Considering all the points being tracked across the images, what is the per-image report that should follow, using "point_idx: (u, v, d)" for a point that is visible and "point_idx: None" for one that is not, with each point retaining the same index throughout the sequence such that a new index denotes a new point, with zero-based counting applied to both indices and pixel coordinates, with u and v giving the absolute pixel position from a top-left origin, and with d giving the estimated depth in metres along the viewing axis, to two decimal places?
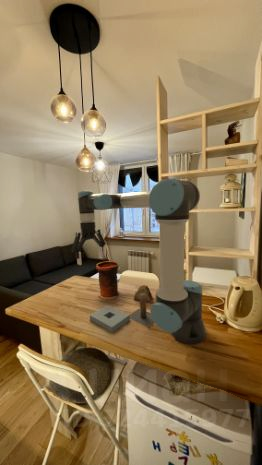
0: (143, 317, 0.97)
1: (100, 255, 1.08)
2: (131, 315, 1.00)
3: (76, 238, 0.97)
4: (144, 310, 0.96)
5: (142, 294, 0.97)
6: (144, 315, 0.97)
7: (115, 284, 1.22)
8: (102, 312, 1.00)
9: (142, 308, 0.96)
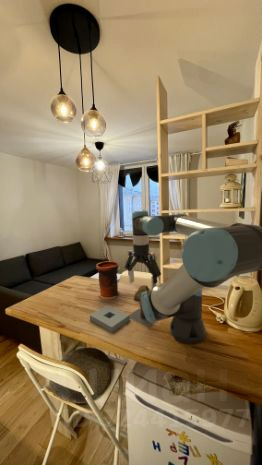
0: (143, 317, 0.97)
1: None
2: (131, 315, 1.00)
3: None
4: None
5: None
6: (144, 315, 0.97)
7: (115, 284, 1.22)
8: (102, 312, 1.00)
9: None
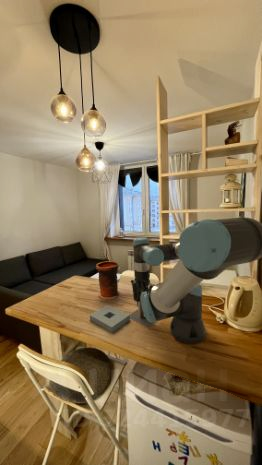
0: (143, 317, 0.97)
1: None
2: (131, 315, 1.00)
3: None
4: None
5: None
6: None
7: (115, 284, 1.22)
8: (102, 312, 1.00)
9: None
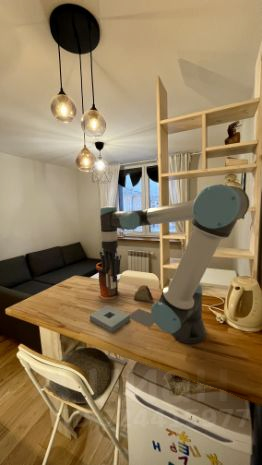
0: (111, 293, 0.95)
1: None
2: (131, 315, 1.00)
3: None
4: None
5: (110, 270, 0.95)
6: (112, 291, 0.95)
7: None
8: (102, 312, 1.00)
9: (110, 284, 0.94)
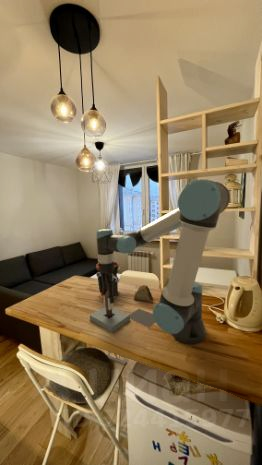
0: (108, 315, 0.95)
1: None
2: (131, 315, 1.00)
3: None
4: None
5: (107, 291, 0.95)
6: (109, 313, 0.95)
7: None
8: (102, 312, 1.00)
9: (107, 305, 0.95)
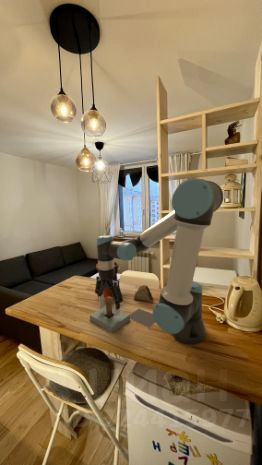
0: None
1: None
2: (131, 315, 1.00)
3: None
4: (110, 313, 0.95)
5: (108, 297, 0.96)
6: None
7: None
8: (102, 312, 1.00)
9: (108, 311, 0.95)
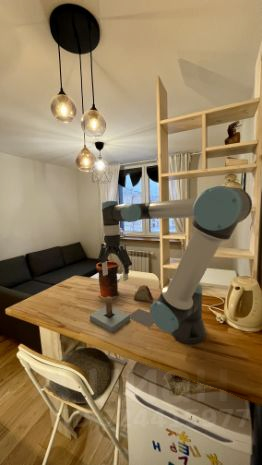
0: None
1: None
2: (131, 315, 1.00)
3: None
4: (110, 313, 0.95)
5: (108, 297, 0.96)
6: None
7: (115, 284, 1.22)
8: (102, 312, 1.00)
9: (108, 311, 0.95)
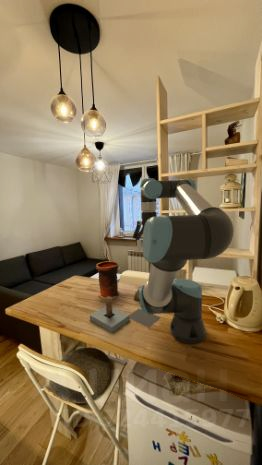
0: None
1: None
2: (131, 315, 1.00)
3: None
4: (110, 313, 0.95)
5: (108, 297, 0.96)
6: None
7: (115, 284, 1.22)
8: (102, 312, 1.00)
9: (108, 311, 0.95)
